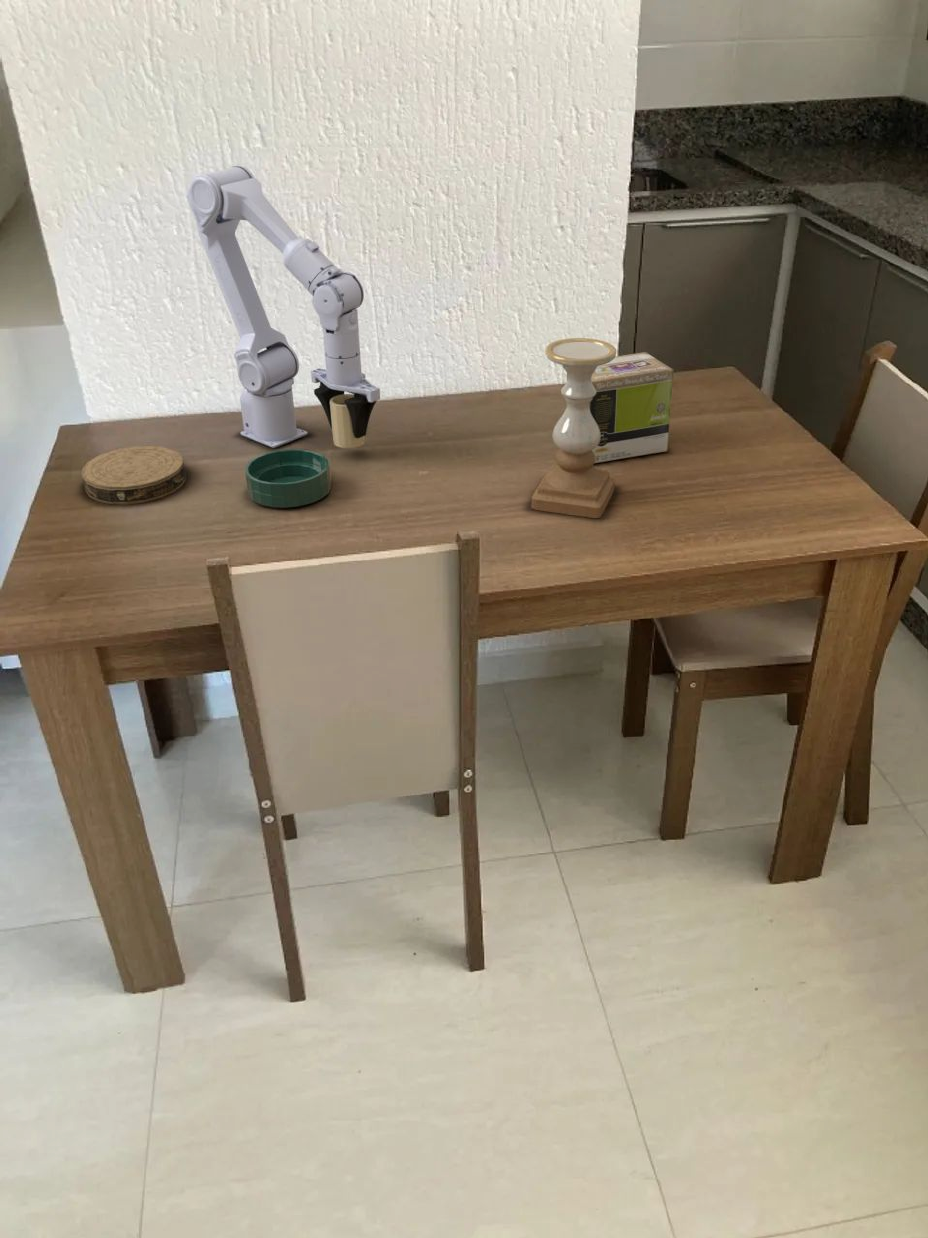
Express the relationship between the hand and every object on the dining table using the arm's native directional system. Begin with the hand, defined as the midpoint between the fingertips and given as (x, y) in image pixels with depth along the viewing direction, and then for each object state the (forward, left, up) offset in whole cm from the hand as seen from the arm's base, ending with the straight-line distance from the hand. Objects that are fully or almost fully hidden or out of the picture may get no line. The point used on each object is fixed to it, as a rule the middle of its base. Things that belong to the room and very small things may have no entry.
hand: (348, 431), depth 172 cm
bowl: (+3, -16, -4) cm, 17 cm away
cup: (0, 0, -2) cm, 2 cm away
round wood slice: (-19, -30, -4) cm, 36 cm away
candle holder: (+39, +11, -4) cm, 41 cm away
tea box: (+33, +31, -4) cm, 46 cm away
